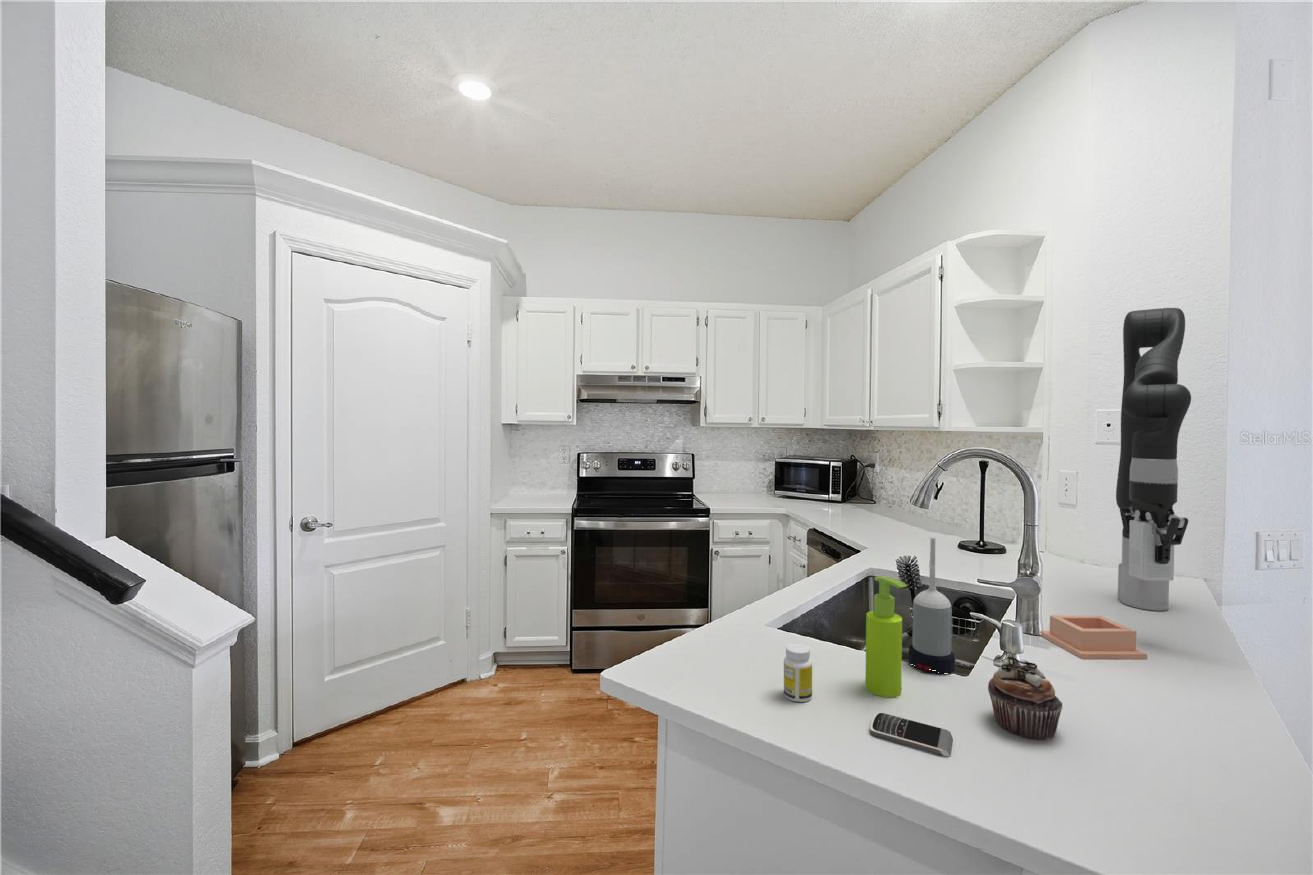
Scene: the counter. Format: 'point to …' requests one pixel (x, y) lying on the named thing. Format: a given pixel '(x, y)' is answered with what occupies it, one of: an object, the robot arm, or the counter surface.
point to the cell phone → (912, 734)
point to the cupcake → (1024, 700)
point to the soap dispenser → (884, 642)
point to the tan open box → (1093, 637)
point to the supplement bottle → (798, 673)
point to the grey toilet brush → (932, 628)
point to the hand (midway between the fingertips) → (1150, 559)
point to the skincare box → (1147, 554)
